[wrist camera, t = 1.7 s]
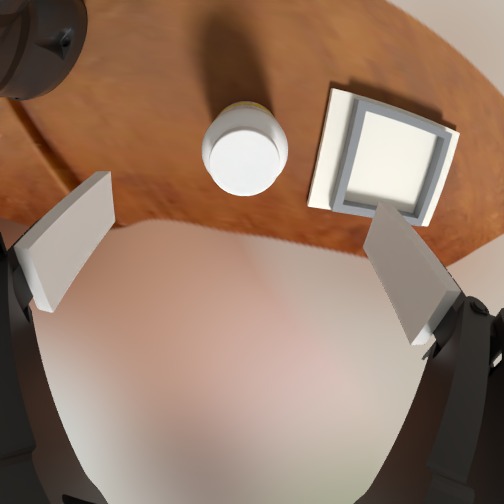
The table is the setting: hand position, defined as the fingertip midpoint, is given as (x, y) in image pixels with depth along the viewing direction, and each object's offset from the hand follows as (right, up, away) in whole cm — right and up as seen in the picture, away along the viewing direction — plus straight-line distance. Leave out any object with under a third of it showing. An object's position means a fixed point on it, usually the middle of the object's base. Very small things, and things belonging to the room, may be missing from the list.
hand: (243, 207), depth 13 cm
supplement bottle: (0, +11, +16) cm, 19 cm away
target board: (+17, +9, +17) cm, 25 cm away
